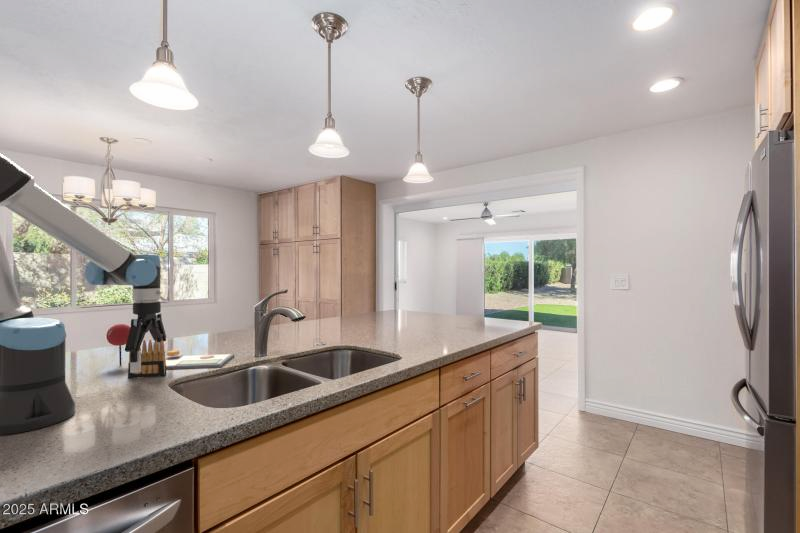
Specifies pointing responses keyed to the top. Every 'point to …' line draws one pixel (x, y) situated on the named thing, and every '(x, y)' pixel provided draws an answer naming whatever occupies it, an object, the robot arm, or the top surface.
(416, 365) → the top surface
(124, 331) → the lollipop
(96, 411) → the top surface
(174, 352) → the button
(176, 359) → the board
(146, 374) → the ammunition clip
